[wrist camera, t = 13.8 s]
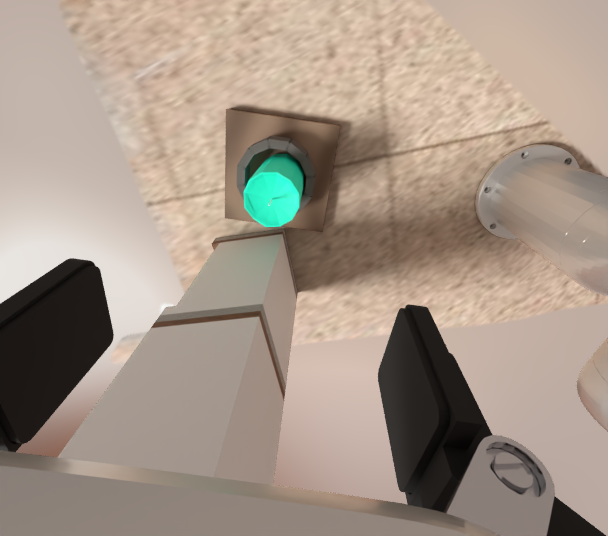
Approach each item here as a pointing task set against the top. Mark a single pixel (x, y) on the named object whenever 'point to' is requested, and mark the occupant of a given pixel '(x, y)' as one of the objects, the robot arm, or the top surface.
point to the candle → (275, 191)
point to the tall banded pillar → (206, 373)
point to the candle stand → (279, 140)
